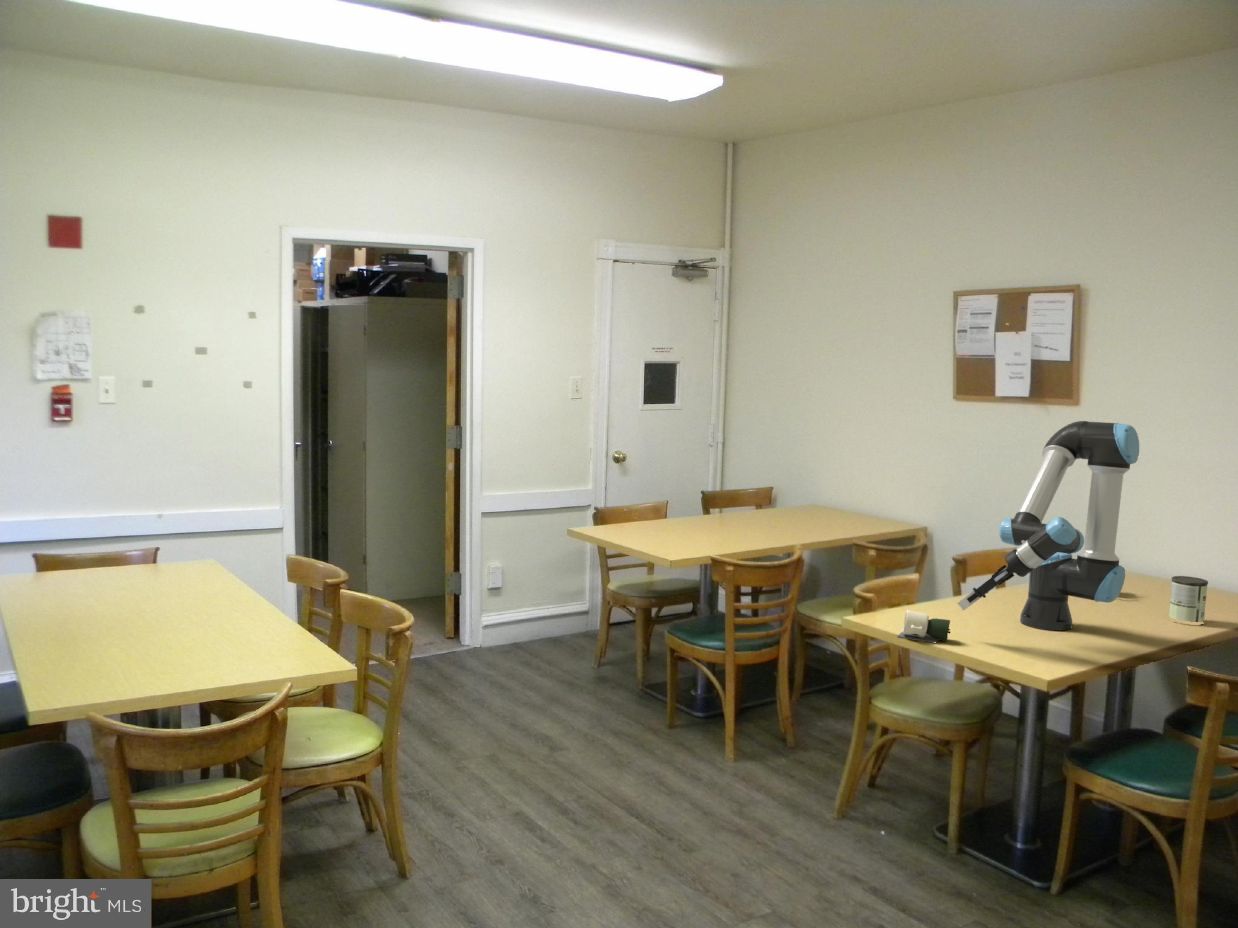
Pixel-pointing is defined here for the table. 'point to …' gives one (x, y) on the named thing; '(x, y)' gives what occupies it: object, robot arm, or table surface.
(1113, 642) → the table surface
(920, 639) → the mat
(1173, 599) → the coffee can
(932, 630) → the character mug
